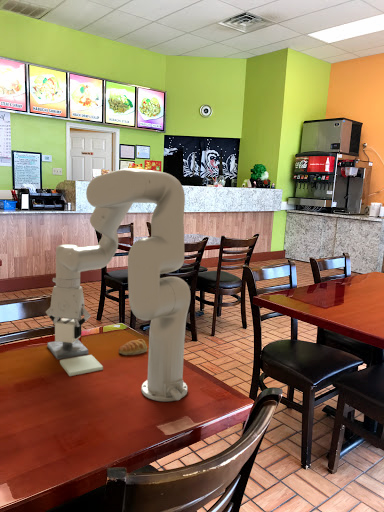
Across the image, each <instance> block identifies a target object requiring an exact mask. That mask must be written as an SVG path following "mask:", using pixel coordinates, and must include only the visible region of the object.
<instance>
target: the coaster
mask: <svg viewBox="0 0 384 512" xmlns="http://www.w3.org/2000/svg"><path fill="white" fill-rule="evenodd" d="M59 365H60V366H61V367H62V369H64V371H65V372H66V373H67V375H68V376H69V377H72V376H76V375H77V376H78V375H83V374H86V373H88V374H89V373H92V372H97V371H102V370H104V366H103V365H102V364H101V363H100V362H99V361H98V359H96V358H95V356H93V354H87V355H81V356H76V357H70V358H64V359H59Z"/></svg>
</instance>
